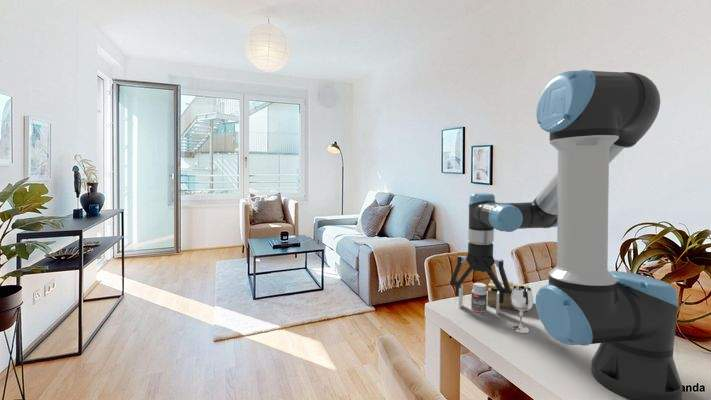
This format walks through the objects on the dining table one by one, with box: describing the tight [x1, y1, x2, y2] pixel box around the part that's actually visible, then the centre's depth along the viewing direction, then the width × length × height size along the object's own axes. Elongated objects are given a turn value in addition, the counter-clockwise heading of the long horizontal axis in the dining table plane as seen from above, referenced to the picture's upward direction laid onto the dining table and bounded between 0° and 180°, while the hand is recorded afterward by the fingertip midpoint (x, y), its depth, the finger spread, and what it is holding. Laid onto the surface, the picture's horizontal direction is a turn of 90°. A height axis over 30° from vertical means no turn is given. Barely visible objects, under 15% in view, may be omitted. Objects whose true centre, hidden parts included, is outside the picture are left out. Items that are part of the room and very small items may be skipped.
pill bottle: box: [470, 282, 488, 314], centre depth 113 cm, size 5×5×8 cm
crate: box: [487, 288, 528, 313], centre depth 118 cm, size 10×12×5 cm
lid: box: [487, 279, 530, 291], centre depth 118 cm, size 10×12×1 cm
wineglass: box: [510, 286, 534, 334], centre depth 99 cm, size 6×6×12 cm
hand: (478, 309), depth 113 cm, fingers open, 11 cm apart
